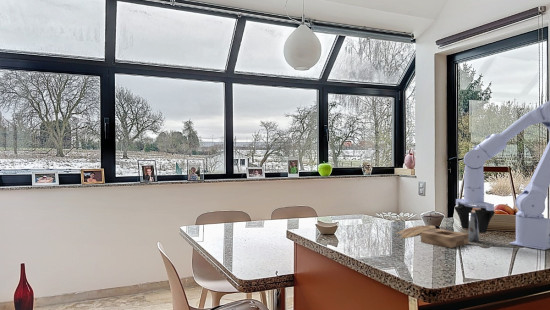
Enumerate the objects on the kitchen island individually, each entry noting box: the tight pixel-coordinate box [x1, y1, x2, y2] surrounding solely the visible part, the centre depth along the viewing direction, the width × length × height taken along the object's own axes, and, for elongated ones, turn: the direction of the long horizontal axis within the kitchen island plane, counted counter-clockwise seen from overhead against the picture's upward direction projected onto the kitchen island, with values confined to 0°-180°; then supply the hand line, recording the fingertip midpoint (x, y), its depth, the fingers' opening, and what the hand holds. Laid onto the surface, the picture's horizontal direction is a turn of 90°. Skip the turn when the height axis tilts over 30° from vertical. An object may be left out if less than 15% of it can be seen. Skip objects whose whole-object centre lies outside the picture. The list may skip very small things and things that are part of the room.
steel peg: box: [468, 211, 480, 243], centre depth 128 cm, size 3×3×9 cm
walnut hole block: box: [420, 228, 470, 249], centre depth 125 cm, size 10×10×3 cm
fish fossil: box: [395, 225, 437, 239], centre depth 142 cm, size 26×10×1 cm, turn 142°
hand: (473, 230), depth 128 cm, fingers open, 7 cm apart
